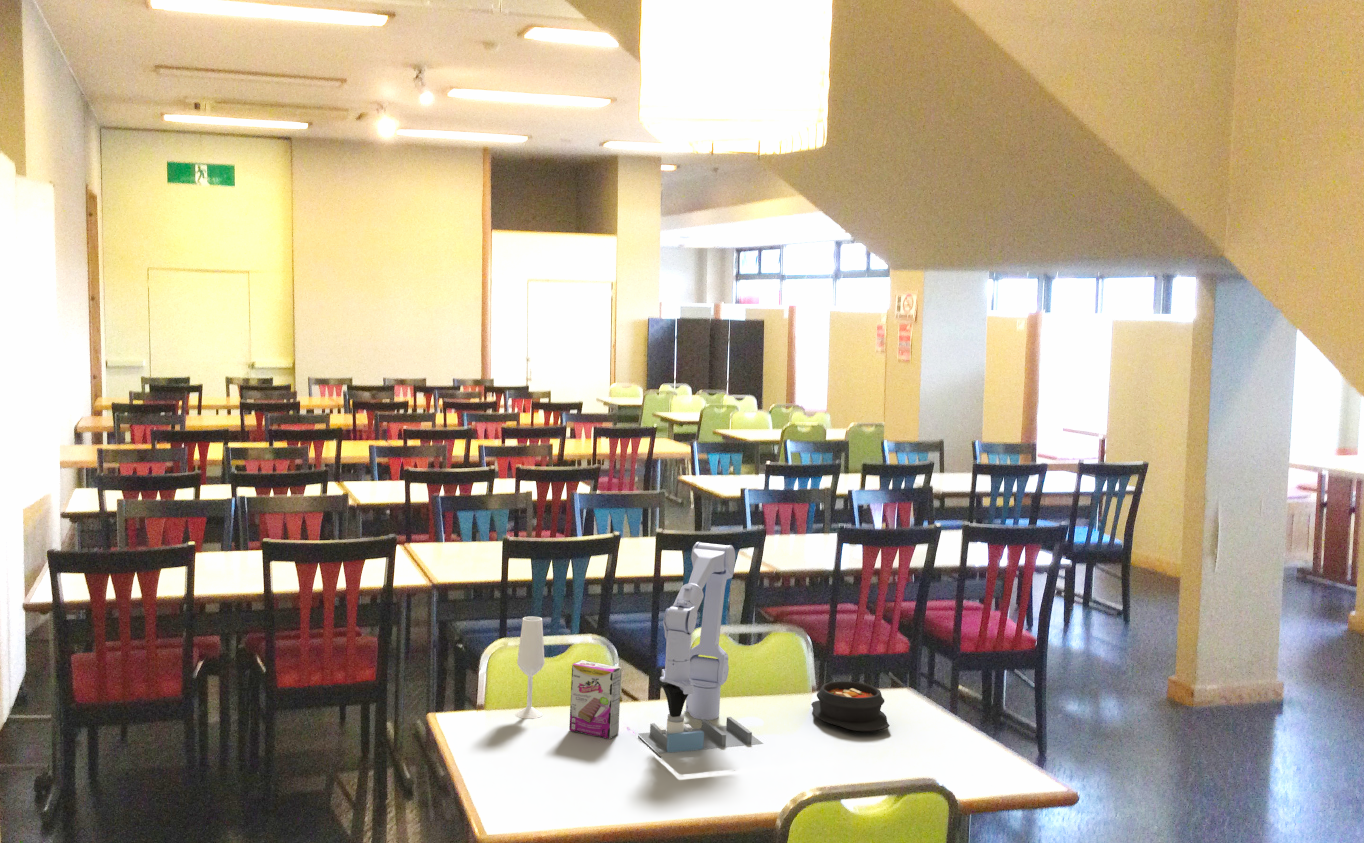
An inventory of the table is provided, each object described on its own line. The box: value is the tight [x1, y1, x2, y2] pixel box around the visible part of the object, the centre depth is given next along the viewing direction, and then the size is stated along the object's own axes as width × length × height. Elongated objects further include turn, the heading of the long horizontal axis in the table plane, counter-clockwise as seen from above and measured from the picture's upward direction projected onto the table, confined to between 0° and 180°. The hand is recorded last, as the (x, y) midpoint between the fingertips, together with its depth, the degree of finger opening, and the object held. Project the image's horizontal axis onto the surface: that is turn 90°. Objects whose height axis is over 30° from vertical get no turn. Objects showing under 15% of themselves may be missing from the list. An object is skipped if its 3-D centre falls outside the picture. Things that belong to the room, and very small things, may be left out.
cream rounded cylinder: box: [666, 713, 685, 734], centre depth 280 cm, size 4×4×6 cm
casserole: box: [811, 680, 890, 732], centre depth 304 cm, size 25×19×8 cm
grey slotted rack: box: [637, 716, 764, 759], centre depth 283 cm, size 14×26×5 cm, turn 112°
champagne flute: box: [515, 616, 545, 720], centre depth 297 cm, size 7×7×24 cm
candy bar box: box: [569, 659, 622, 740], centre depth 286 cm, size 11×5×16 cm, turn 65°
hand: (675, 716), depth 280 cm, fingers closed, pressing on cream rounded cylinder
